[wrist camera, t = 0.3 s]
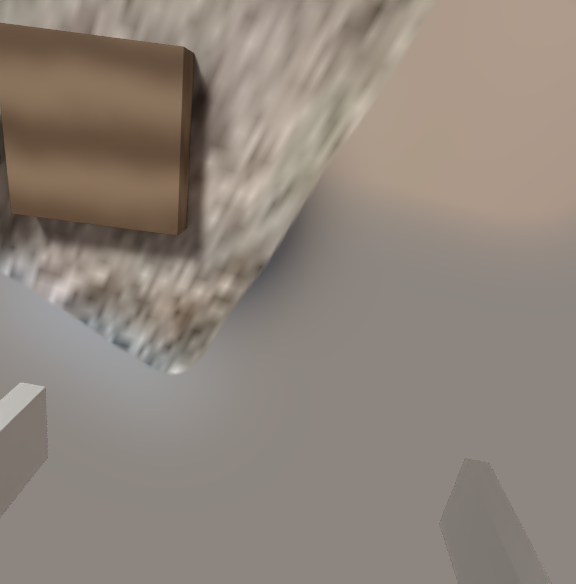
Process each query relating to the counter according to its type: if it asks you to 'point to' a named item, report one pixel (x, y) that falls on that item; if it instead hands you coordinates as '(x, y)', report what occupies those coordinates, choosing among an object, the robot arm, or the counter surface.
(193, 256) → the counter surface
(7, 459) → the robot arm
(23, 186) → the brown curved panel
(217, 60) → the counter surface
